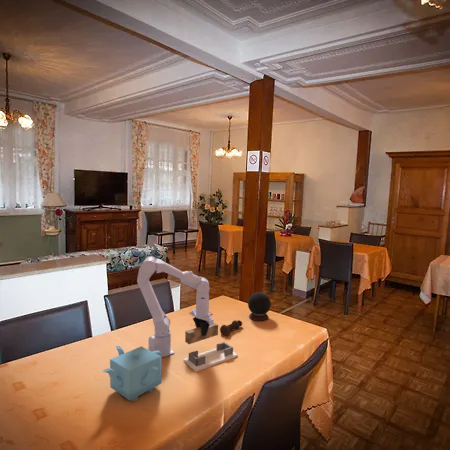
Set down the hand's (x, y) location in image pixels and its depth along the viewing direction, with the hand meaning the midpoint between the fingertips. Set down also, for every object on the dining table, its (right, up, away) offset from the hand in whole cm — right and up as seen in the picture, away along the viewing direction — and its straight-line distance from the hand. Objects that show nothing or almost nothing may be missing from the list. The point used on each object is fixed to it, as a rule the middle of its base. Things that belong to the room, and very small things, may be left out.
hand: (202, 334), depth 157 cm
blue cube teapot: (-23, -12, -30) cm, 40 cm away
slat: (0, -2, 0) cm, 2 cm away
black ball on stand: (+30, -4, +43) cm, 53 cm away
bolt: (+14, -6, +25) cm, 29 cm away
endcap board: (+4, -9, -5) cm, 11 cm away
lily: (-3, -5, +35) cm, 35 cm away
